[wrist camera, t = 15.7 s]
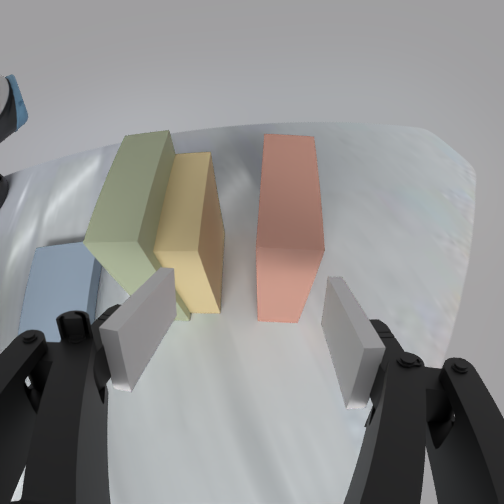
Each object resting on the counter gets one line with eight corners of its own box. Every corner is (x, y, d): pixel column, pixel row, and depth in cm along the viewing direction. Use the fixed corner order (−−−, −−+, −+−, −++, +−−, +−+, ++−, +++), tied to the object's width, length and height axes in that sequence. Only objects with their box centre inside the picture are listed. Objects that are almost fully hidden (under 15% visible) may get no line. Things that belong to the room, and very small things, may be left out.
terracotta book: (263, 232, 39) (264, 133, 26) (297, 233, 39) (313, 136, 25) (257, 321, 33) (256, 247, 19) (297, 322, 33) (324, 250, 19)
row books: (166, 233, 40) (125, 135, 25) (224, 232, 39) (206, 126, 25) (153, 319, 33) (82, 242, 19) (219, 321, 33) (187, 240, 19)
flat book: (43, 254, 39) (36, 247, 37) (104, 247, 39) (98, 239, 37) (25, 360, 30) (15, 356, 28) (91, 368, 30) (81, 364, 28)
